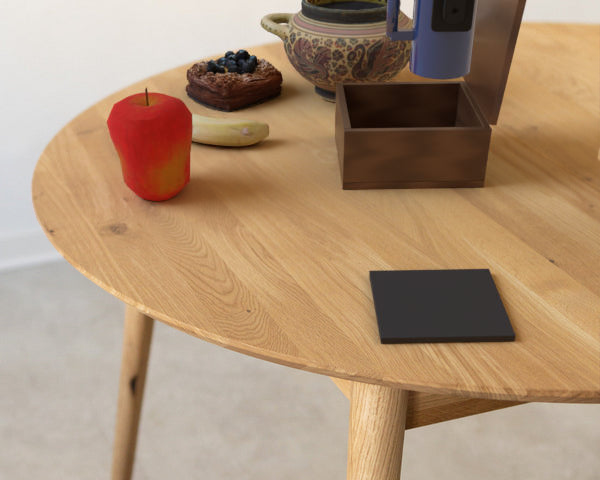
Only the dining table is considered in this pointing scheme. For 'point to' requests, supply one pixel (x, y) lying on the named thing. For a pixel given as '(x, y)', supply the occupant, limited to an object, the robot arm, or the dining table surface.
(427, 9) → the jug
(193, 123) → the fruit
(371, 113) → the chest
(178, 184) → the apple
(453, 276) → the trivet
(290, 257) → the dining table surface
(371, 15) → the ceramic bowl
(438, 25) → the robot arm
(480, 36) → the chest lid
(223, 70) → the pastry
